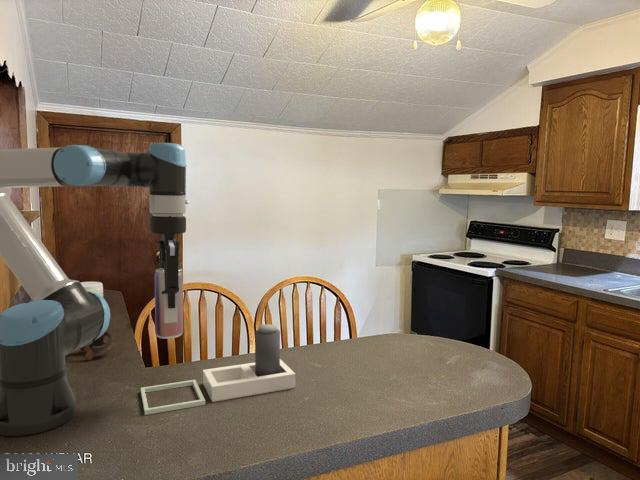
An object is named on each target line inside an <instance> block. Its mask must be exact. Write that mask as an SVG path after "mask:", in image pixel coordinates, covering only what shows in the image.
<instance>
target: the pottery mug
mask: <svg viewBox="0 0 640 480" xmlns="http://www.w3.org/2000/svg"><path fill="white" fill-rule="evenodd" d="M105 337H108V341H107V342H106V341H104V339H105ZM115 346H116V344H115V342H114V337H113V335H112V333H111V332H109V331H108V330H106V331H105V333H104V334H103V335H102V336H100V337H99V338H97V339H96V340H95V341H93V342H92V343H91V344H89V345H85V346H83V347H81V348H79V349H78V350H79V351H80V353H83V352H86V353H85V357H84V358H85V359H86V361H87V360H88V361H92V359H93V358H96V357H100V356H101V355H104V354H107V353H108V352H109V351H110V350H112V348H113V347H115Z"/></svg>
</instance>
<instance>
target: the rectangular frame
mask: <svg viewBox="0 0 640 480" xmlns="http://www.w3.org/2000/svg"><path fill="white" fill-rule="evenodd" d="M190 386H192V387H193V389H194V391H195V394H196V396H197V398H198V399H196V400H189V401H183V402H178V403H172V404H166V405H160V406H155V407H149V404H148V400H147V393H151V392H158V391H163V390H164V391H165V390H171V389H177V388H183V387H190ZM145 392H146V393H145ZM140 396H141V401H142V406H143V411H144V416H149V415H153V414H159V413H166V412H170V411H172V412H173V411H176V410H177V411H178V410H183V409H188V408H194V407H200V406H205V405H206V399H205V397H204V395H203V393H202V390H201V389H200V386H199V384H198V382H197V380H196V379H190V380H183V381H178V382H170V383H165V384H157V385H152V386H151V385H150V386H143V387H140Z"/></svg>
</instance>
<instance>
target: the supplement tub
mask: <svg viewBox="0 0 640 480" xmlns="http://www.w3.org/2000/svg"><path fill="white" fill-rule="evenodd" d="M79 282H80V281H79ZM80 283H81V284H82V286H83V287H84V289H85V290H86V291H87V292H93V293H97V294H99V295H100V296H102V297H103V298H104V285H103V283H102V282H100V281H82V282H80Z"/></svg>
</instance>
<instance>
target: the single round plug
mask: <svg viewBox="0 0 640 480" xmlns="http://www.w3.org/2000/svg"><path fill="white" fill-rule="evenodd" d="M280 331H281V330H280V329H278V327H277V325H276V324H270V323H269V324H268V323H265V324H261V325H258V329H256V330H255V331H254V333H255V335H254V339H255V341H254V343H255V346H254V347H255V349H254V350H255V351H254V352H255V354H254V356H255V357H254V358H255V359H254V363H255V374H256V376H257V377H259V376H265V375H272V374H278V373H280V359H281V355H280V353H281V332H280Z"/></svg>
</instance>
